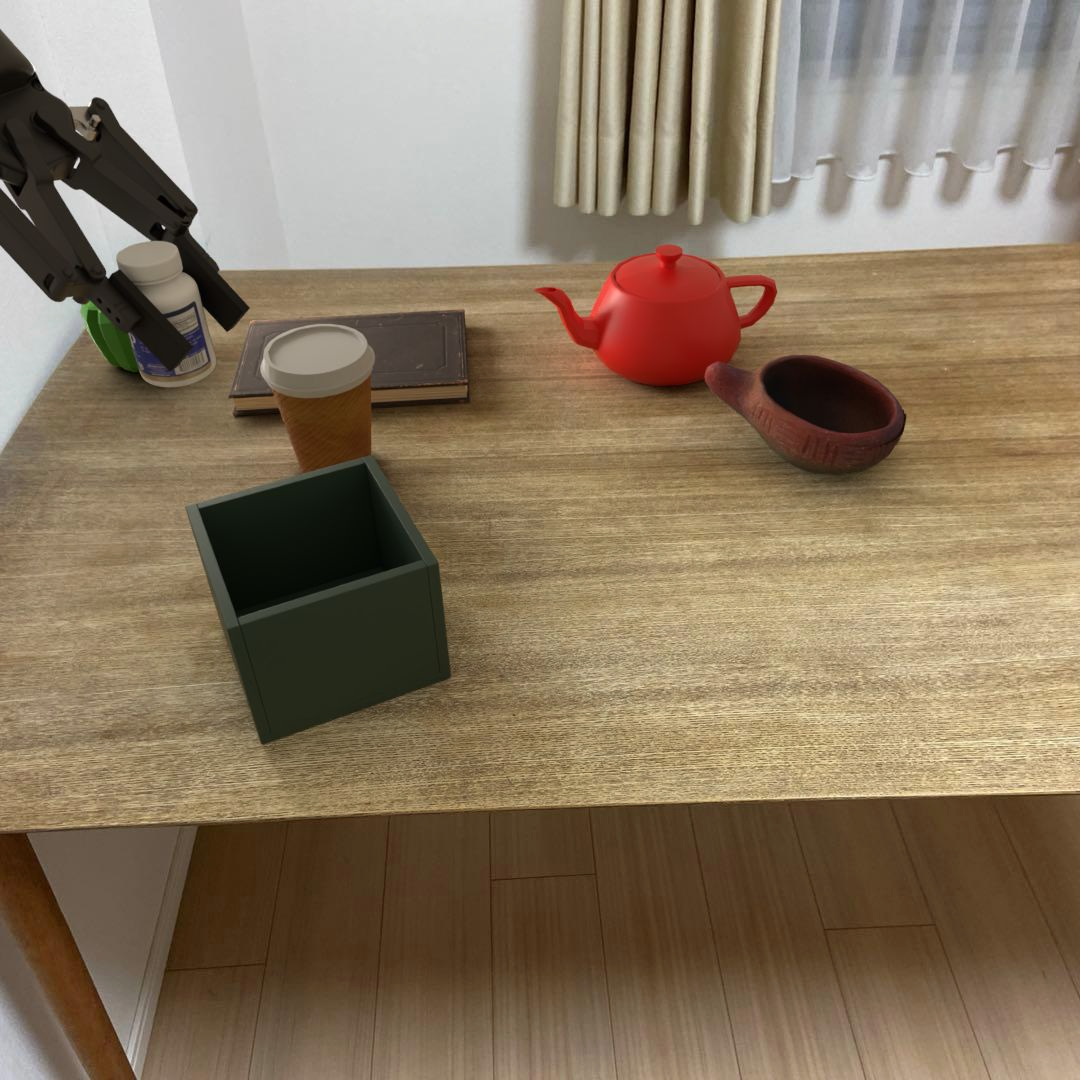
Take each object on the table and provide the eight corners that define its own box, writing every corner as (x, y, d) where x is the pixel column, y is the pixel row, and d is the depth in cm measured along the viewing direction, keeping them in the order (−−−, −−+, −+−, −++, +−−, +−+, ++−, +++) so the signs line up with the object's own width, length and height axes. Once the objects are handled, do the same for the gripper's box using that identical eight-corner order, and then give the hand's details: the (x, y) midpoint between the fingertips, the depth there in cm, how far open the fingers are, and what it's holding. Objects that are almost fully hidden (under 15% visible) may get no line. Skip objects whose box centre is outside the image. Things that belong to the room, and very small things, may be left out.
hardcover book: (469, 402, 100) (468, 382, 99) (233, 416, 99) (228, 395, 98) (465, 325, 113) (464, 306, 111) (255, 336, 111) (251, 317, 110)
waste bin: (261, 745, 68) (226, 629, 61) (219, 617, 77) (184, 505, 70) (451, 677, 72) (438, 562, 65) (389, 565, 82) (372, 454, 75)
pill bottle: (148, 354, 75) (114, 238, 69) (221, 349, 75) (193, 233, 69) (134, 392, 70) (97, 272, 65) (212, 386, 71) (181, 266, 65)
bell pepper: (109, 389, 103) (79, 298, 97) (92, 355, 109) (62, 267, 103) (191, 366, 107) (167, 277, 100) (170, 334, 112) (146, 248, 106)
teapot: (743, 314, 113) (755, 207, 105) (796, 385, 101) (815, 271, 94) (522, 339, 110) (518, 230, 102) (551, 416, 98) (549, 299, 90)
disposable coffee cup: (377, 428, 97) (361, 313, 89) (399, 484, 90) (383, 365, 82) (277, 447, 95) (251, 331, 87) (290, 507, 88) (264, 386, 80)
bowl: (854, 410, 98) (870, 335, 93) (917, 488, 88) (938, 409, 83) (693, 430, 96) (700, 355, 91) (739, 512, 86) (750, 433, 81)
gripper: (38, 60, 73) (267, 310, 78) (-197, 139, 61) (95, 431, 66) (71, -17, 68) (314, 256, 73) (-178, 51, 55) (137, 376, 60)
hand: (210, 338), depth 69 cm, fingers closed on pill bottle, 5 cm apart
